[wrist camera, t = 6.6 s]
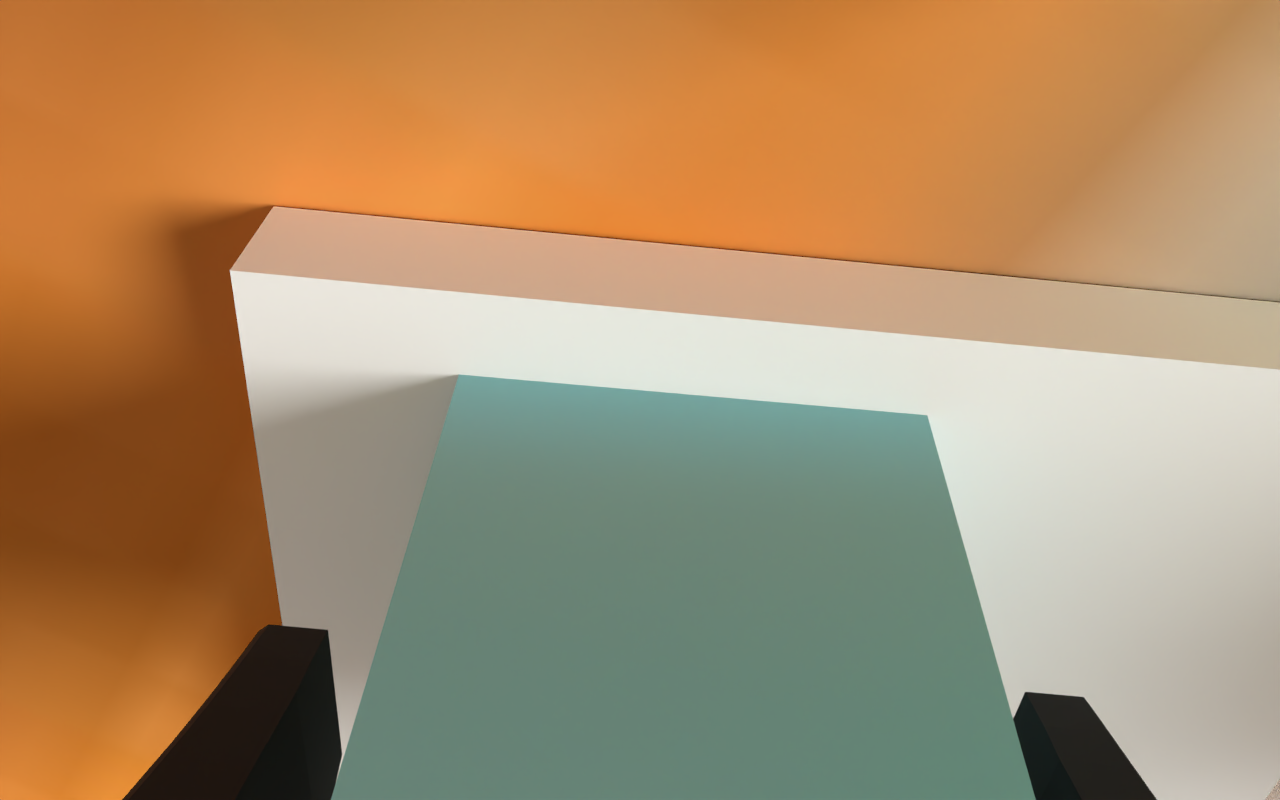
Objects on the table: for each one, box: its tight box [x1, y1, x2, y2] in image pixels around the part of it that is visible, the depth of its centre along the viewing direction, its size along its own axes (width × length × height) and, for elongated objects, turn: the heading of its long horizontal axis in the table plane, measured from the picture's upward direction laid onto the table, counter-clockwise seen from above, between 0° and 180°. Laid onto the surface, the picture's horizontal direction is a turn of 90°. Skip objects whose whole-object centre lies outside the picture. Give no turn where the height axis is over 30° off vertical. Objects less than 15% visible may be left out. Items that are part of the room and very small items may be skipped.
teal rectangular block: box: [331, 375, 1036, 800], centre depth 11 cm, size 5×5×7 cm
